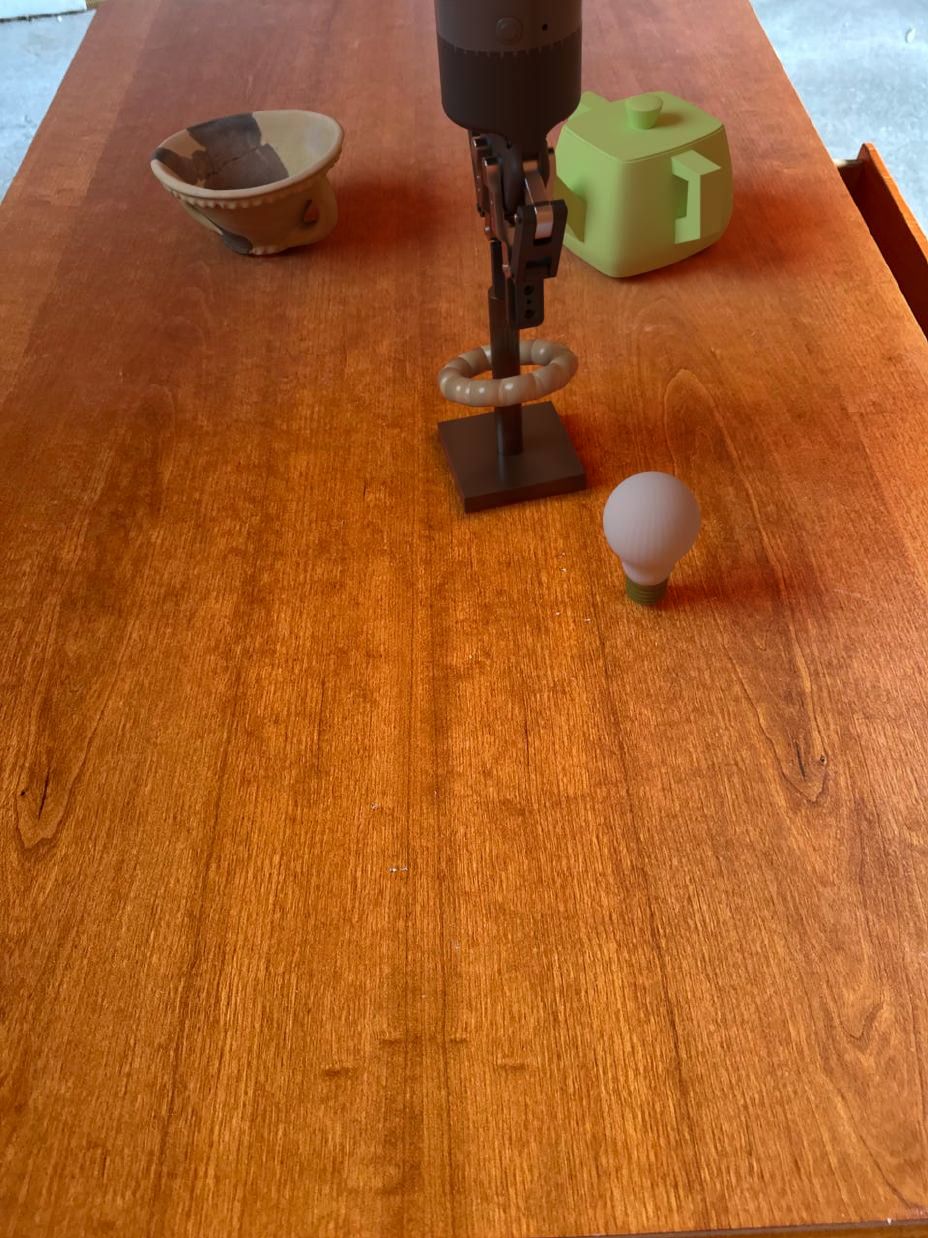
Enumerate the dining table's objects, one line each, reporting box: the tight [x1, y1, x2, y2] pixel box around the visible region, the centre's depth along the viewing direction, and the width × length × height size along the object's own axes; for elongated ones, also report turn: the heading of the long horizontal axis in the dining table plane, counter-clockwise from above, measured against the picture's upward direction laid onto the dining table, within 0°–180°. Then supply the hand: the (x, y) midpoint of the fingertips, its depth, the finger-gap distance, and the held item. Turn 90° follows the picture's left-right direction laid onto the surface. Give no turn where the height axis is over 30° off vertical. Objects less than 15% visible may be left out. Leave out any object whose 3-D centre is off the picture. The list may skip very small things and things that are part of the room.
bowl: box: [150, 109, 346, 256], centre depth 106 cm, size 18×18×10 cm
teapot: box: [553, 90, 734, 278], centre depth 99 cm, size 18×20×13 cm
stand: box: [436, 285, 587, 514], centre depth 80 cm, size 9×9×14 cm
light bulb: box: [602, 470, 702, 606], centre depth 71 cm, size 6×6×10 cm
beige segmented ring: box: [436, 338, 580, 408], centre depth 79 cm, size 10×10×2 cm
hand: (517, 308), depth 71 cm, fingers open, 3 cm apart
